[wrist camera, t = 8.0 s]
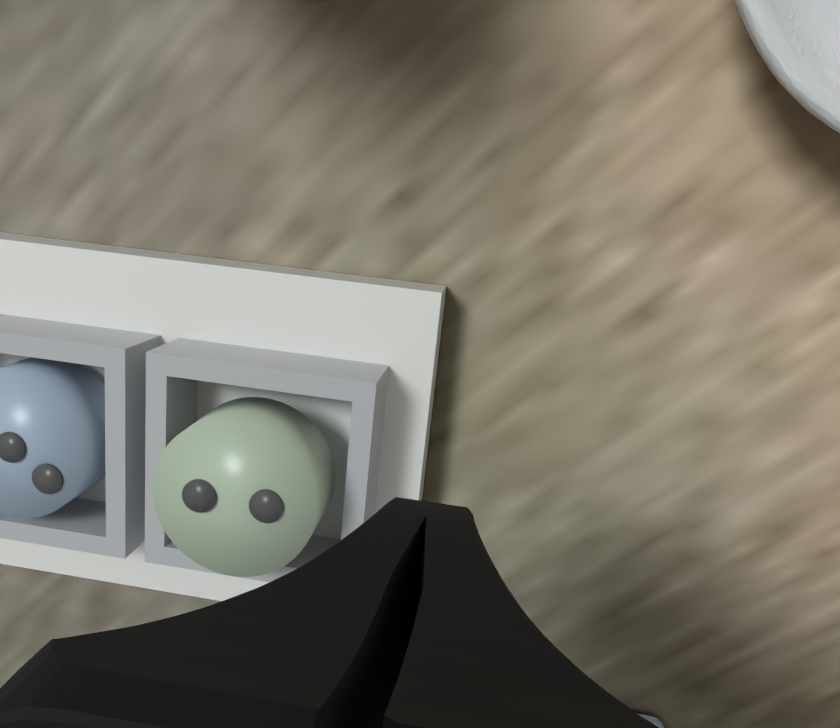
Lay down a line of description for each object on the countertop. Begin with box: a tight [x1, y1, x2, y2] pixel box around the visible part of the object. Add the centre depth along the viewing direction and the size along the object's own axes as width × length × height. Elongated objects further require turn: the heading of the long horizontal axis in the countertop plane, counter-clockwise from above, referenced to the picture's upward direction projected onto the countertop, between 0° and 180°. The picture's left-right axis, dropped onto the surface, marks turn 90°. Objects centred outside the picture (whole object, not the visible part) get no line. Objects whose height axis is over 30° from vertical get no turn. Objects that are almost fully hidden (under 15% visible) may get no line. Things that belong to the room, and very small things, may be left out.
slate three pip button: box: [0, 357, 105, 518], centre depth 20 cm, size 4×4×2 cm
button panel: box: [0, 232, 446, 601], centre depth 22 cm, size 11×23×4 cm, turn 84°
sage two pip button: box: [152, 397, 335, 577], centre depth 19 cm, size 4×4×2 cm
